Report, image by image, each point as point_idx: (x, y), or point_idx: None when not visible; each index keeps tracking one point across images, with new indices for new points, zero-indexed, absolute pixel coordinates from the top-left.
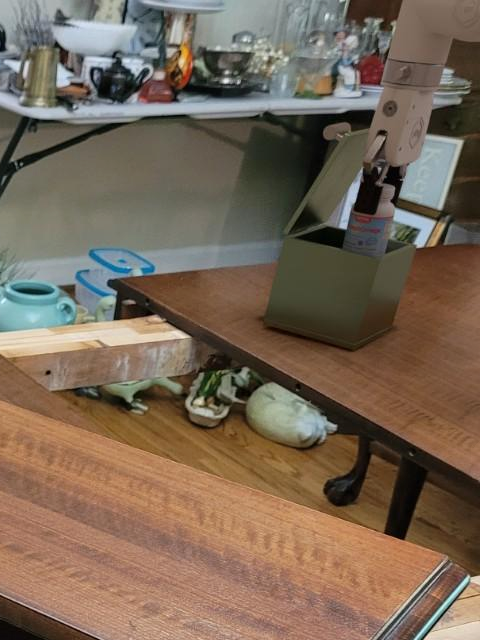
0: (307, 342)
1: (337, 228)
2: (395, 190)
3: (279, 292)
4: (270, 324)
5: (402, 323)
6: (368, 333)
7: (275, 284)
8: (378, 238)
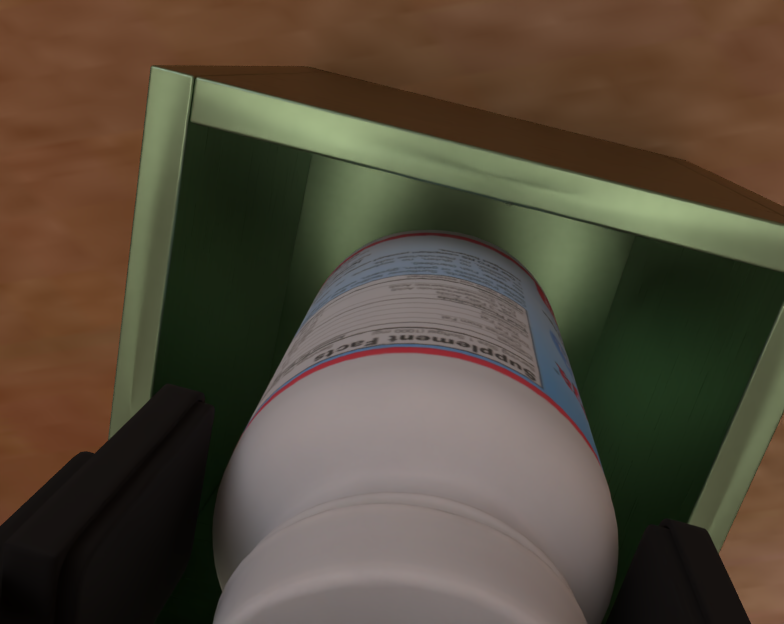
0: None
1: None
2: (141, 518)
3: None
4: None
5: (213, 32)
6: (573, 134)
7: None
8: (552, 343)
